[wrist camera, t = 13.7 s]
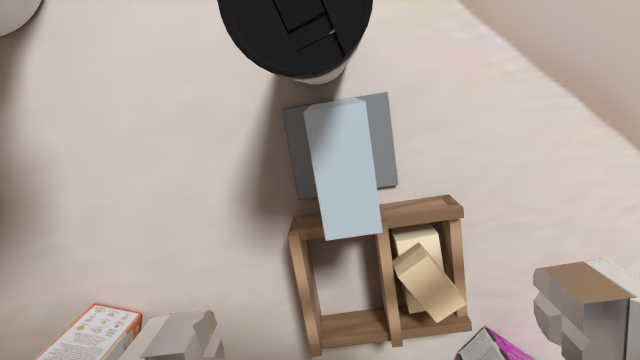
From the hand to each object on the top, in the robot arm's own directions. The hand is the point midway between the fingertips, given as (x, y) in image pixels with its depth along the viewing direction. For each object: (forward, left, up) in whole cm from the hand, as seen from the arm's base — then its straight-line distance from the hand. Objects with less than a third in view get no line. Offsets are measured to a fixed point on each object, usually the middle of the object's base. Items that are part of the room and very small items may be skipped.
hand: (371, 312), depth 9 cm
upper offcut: (+13, +6, -23) cm, 27 cm away
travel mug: (-9, -1, -27) cm, 28 cm away
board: (0, 0, -26) cm, 26 cm away
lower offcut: (+13, +6, -27) cm, 31 cm away
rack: (+13, +2, -27) cm, 30 cm away
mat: (0, 0, -27) cm, 27 cm away
